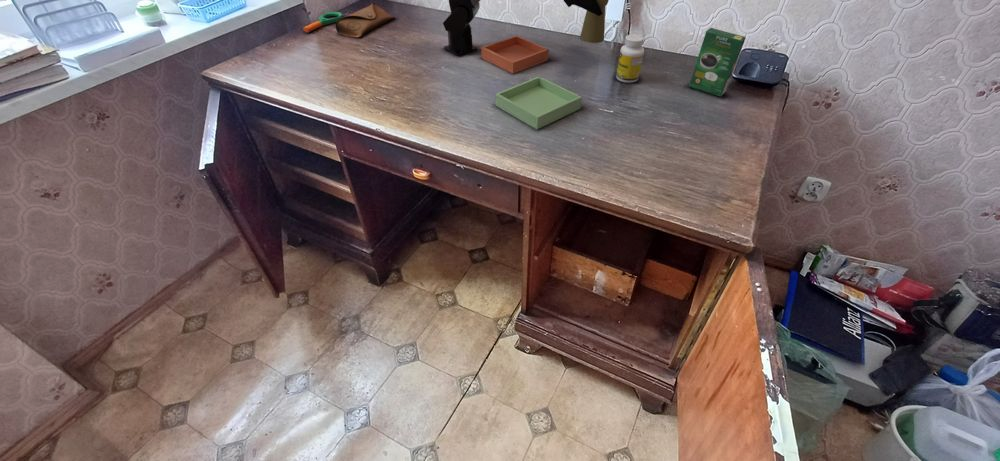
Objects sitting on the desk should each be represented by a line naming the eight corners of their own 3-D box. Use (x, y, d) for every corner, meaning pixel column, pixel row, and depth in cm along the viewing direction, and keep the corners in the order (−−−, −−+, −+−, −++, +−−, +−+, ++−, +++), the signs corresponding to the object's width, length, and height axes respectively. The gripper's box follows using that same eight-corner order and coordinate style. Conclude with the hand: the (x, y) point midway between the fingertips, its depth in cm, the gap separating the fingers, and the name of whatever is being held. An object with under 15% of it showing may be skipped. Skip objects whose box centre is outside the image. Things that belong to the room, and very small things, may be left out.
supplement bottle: (611, 75, 114) (618, 34, 107) (631, 72, 115) (639, 31, 108) (622, 85, 110) (630, 43, 103) (642, 81, 111) (651, 40, 104)
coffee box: (726, 93, 107) (747, 35, 98) (722, 98, 105) (742, 39, 96) (692, 83, 110) (709, 26, 101) (687, 87, 109) (704, 30, 100)
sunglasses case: (360, 37, 130) (345, 13, 127) (346, 46, 134) (331, 24, 131) (397, 16, 142) (384, -6, 139) (382, 25, 146) (370, 4, 143)
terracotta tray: (481, 58, 121) (481, 47, 119) (516, 45, 127) (516, 35, 125) (512, 73, 114) (513, 62, 112) (548, 60, 120) (549, 49, 118)
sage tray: (495, 105, 103) (495, 93, 101) (538, 87, 109) (539, 76, 107) (537, 129, 95) (537, 117, 94) (580, 108, 102) (582, 96, 100)
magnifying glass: (330, 14, 144) (329, 9, 143) (347, 17, 143) (345, 11, 142) (298, 32, 134) (296, 25, 133) (315, 34, 133) (314, 28, 131)
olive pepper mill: (575, 38, 116) (580, -10, 108) (588, 31, 119) (594, -16, 111) (595, 45, 113) (603, -4, 105) (608, 37, 116) (616, -10, 109)
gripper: (586, -63, 94) (630, -1, 100) (591, -82, 107) (631, -25, 113) (544, -23, 100) (588, 34, 106) (554, -45, 113) (593, 6, 120)
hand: (601, 10), depth 111 cm, fingers closed on olive pepper mill, 5 cm apart
